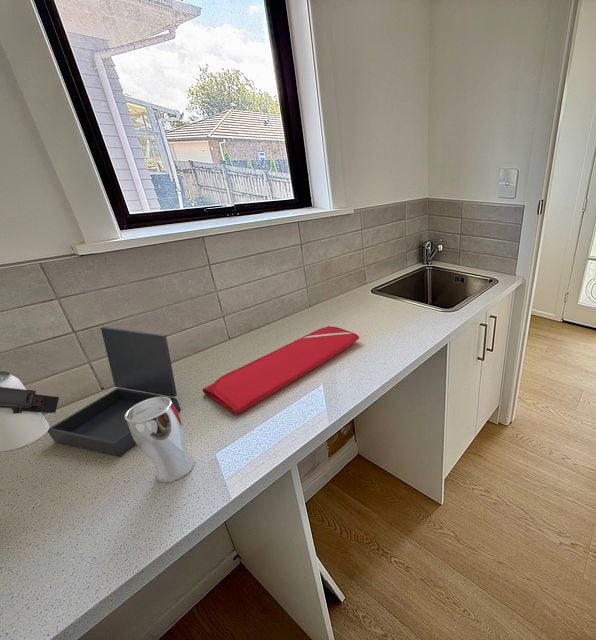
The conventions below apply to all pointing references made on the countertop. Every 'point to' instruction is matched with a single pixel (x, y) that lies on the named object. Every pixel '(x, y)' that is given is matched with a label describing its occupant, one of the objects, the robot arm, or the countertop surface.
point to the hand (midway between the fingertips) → (31, 407)
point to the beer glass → (160, 437)
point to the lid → (139, 361)
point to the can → (19, 421)
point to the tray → (102, 423)
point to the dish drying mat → (278, 369)
